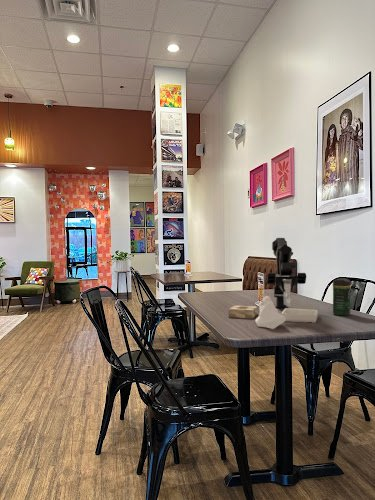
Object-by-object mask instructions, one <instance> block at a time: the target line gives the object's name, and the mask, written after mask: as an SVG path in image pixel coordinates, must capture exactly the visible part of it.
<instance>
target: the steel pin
mask: <svg viewBox="0 0 375 500" xmlns="http://www.w3.org/2000/svg"><path fill="white" fill-rule="evenodd" d="M291 283H292V279H283V286H284V305H287V306H292V292H291Z"/></svg>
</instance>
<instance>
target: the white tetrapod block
mask: <svg viewBox="0 0 375 500" xmlns="http://www.w3.org/2000/svg"><path fill="white" fill-rule="evenodd" d="M275 307H276V306H275V304H274V302H273V300H272V299H271V296H268V295H265V296H264V297H263V298H262V300H261V303H260V305H259V307H258V308H259V309H258V311H259V313H258V317H256V319H255V321H254V322H255V324H256V326H257V327H259V328H267V329H270V330H271V329H272V330H275V329H276V328H277V327H279V326H280V325H281V324H283V323H284V322H287V321H286V319H285V316H283V315H281V313H280V312H279V310H278V308H275Z"/></svg>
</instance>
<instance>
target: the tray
mask: <svg viewBox="0 0 375 500" xmlns="http://www.w3.org/2000/svg"><path fill="white" fill-rule="evenodd" d="M280 314H281V315H283V316H285V319H286V321H285V322H293V323H294V322H295V323H307V322H312V323H311V324H316V323H317V320H318V317H319V314H318V309H309V308H308V309H307V308H306V309H305V308H288V307H287V308H283V310H282V312H281V313H280Z"/></svg>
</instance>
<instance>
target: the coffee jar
mask: <svg viewBox="0 0 375 500" xmlns="http://www.w3.org/2000/svg"><path fill="white" fill-rule="evenodd" d="M332 314H333V315H337V316H339V315H342V316H349V315H350V314H351V280H350V279H348V278H345V277H344V278H343V277H340V278H336V279H334V280H332Z"/></svg>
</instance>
